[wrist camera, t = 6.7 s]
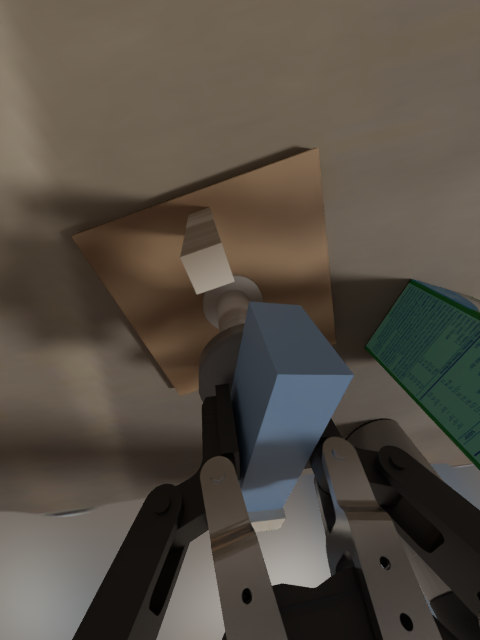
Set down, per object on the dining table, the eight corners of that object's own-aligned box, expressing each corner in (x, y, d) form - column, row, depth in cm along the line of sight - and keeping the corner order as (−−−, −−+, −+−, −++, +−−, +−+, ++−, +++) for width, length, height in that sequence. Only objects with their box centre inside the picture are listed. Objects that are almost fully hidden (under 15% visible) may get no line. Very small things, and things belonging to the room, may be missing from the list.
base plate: (331, 337, 27) (403, 427, 18) (180, 387, 27) (172, 500, 18) (311, 148, 17) (449, 122, 8) (78, 232, 18) (-56, 303, 8)
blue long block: (321, 293, 13) (414, 385, 7) (276, 416, 18) (311, 525, 12) (205, 283, 11) (213, 385, 6) (193, 419, 16) (191, 541, 11)
